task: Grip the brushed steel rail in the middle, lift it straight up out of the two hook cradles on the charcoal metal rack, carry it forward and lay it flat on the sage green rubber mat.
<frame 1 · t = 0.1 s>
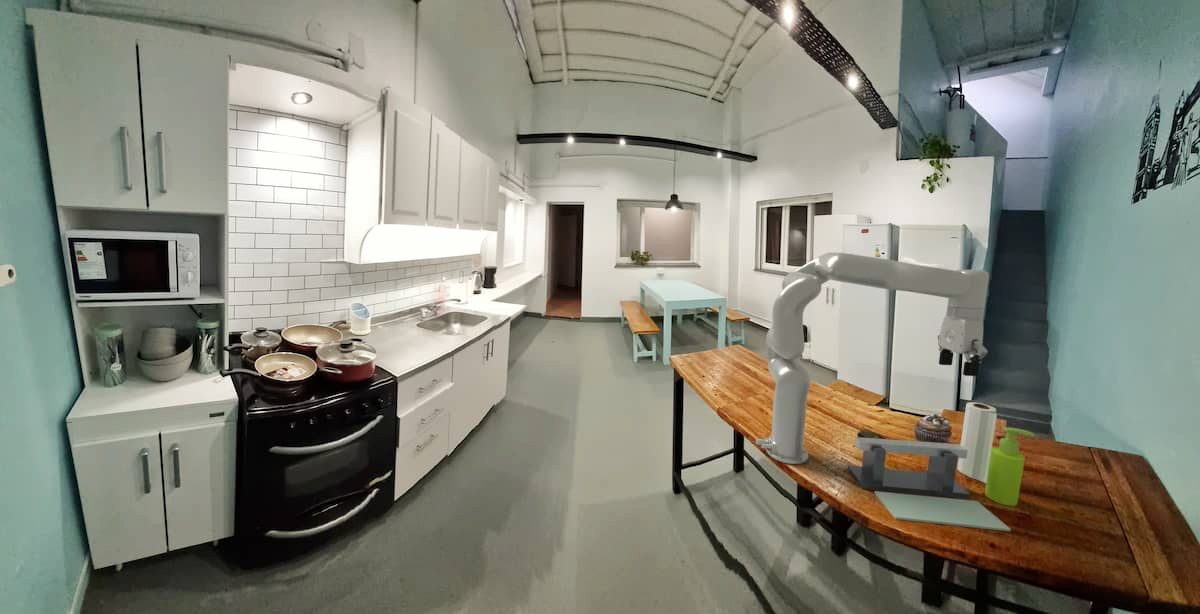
hand: (957, 369, 107), 31 cm above the table, fingers open, 9 cm apart
rack: (904, 483, 105), on the table
paper towel roll: (971, 474, 108), on the table
mat: (937, 510, 94), on the table
soap dispenser: (1003, 499, 98), on the table
cupcake: (930, 443, 126), on the table
tape measure: (869, 443, 127), on the table
rail: (908, 451, 103), point 10 cm above the table, touching rack
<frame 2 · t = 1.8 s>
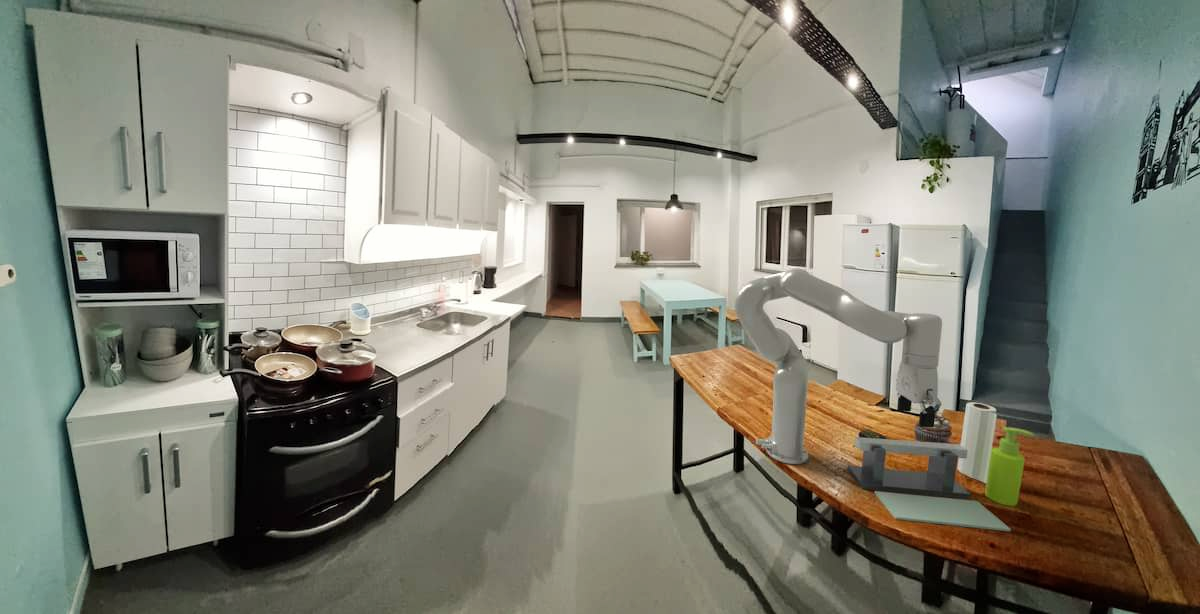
hand: (914, 418, 102), 20 cm above the table, fingers open, 9 cm apart
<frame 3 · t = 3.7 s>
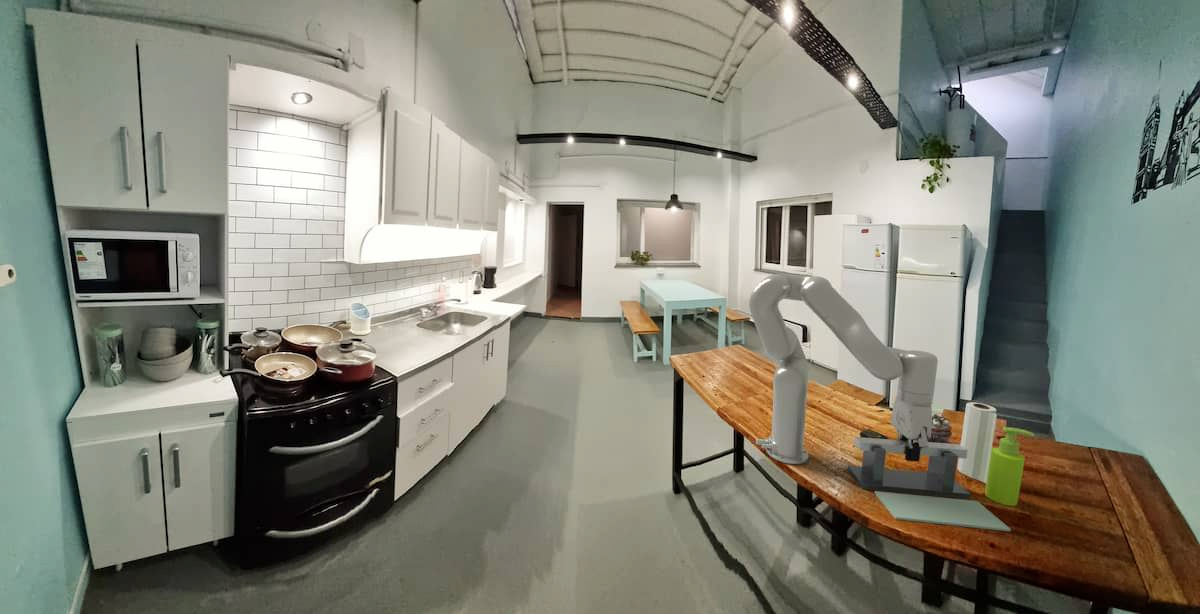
hand: (907, 456, 104), 9 cm above the table, fingers closed on rail, 3 cm apart
rail: (908, 451, 103), point 10 cm above the table, touching gripper, rack
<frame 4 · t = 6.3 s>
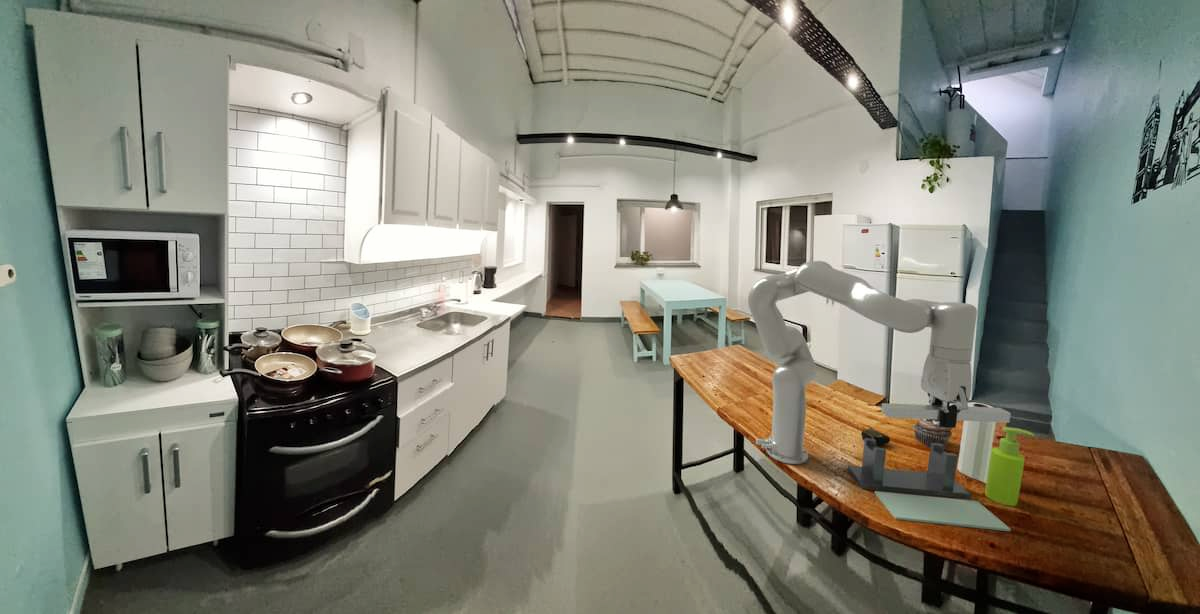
hand: (941, 422, 92), 23 cm above the table, fingers closed on rail, 3 cm apart
rail: (942, 417, 92), point 25 cm above the table, touching gripper
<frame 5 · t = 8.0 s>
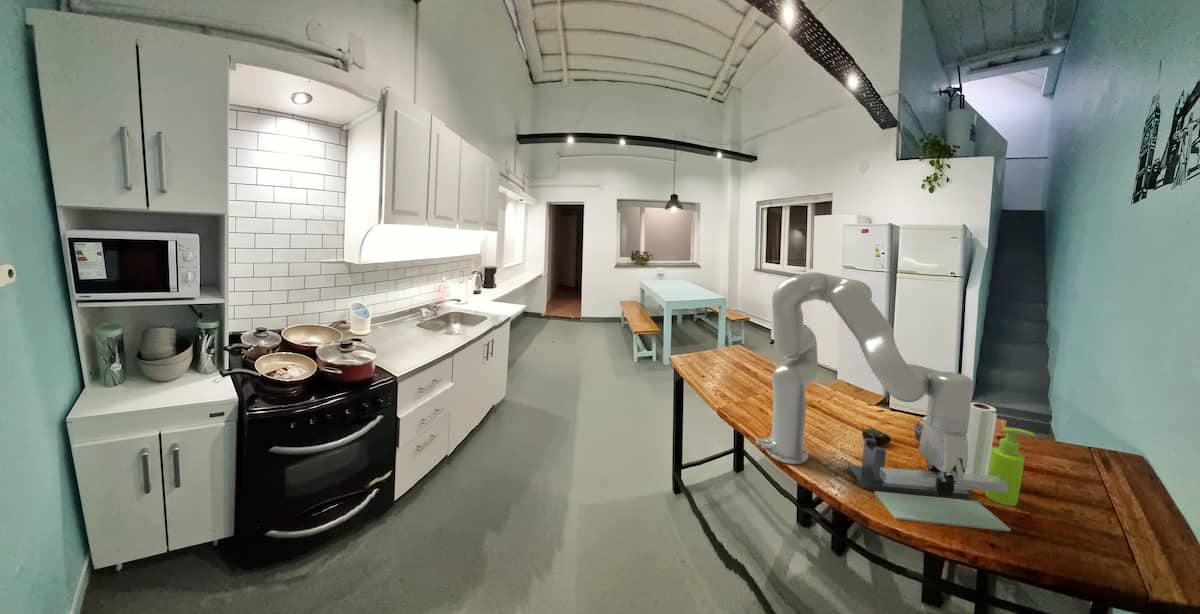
hand: (939, 489, 93), 6 cm above the table, fingers closed on rail, 3 cm apart
rail: (940, 484, 93), point 8 cm above the table, touching gripper
when the fingers open (1 cm above the table, at t = 9.2 s): rail drops 2 cm, resting on mat.
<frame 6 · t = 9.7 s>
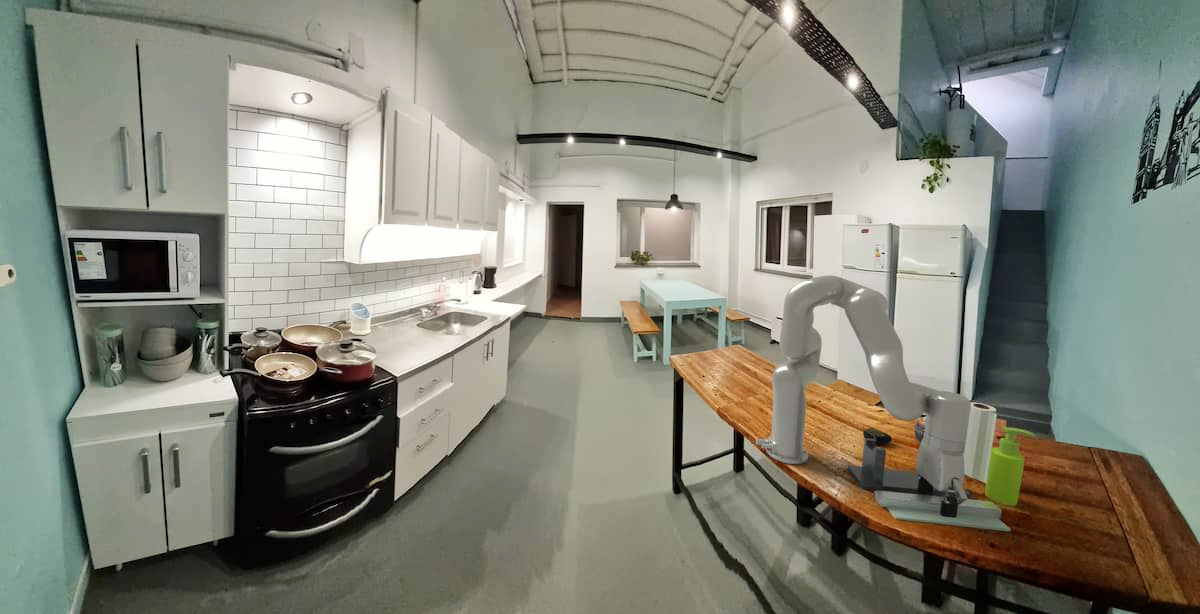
hand: (935, 504, 94), 2 cm above the table, fingers open, 8 cm apart
rail: (934, 508, 94), point 1 cm above the table, touching mat
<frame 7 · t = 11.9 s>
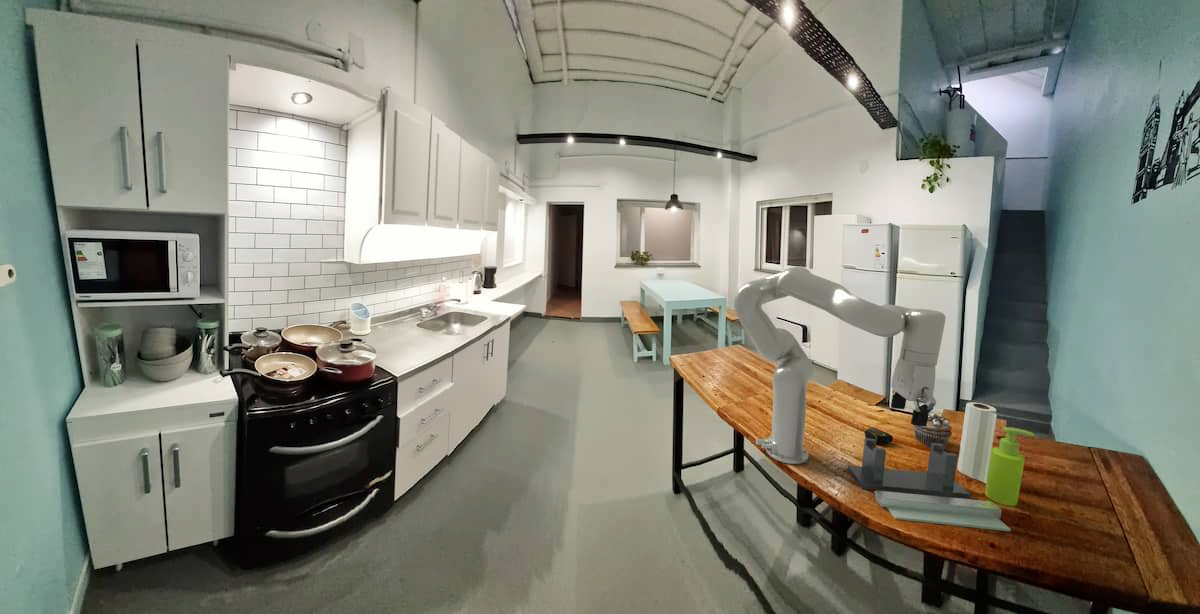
hand: (907, 416, 99), 22 cm above the table, fingers open, 9 cm apart
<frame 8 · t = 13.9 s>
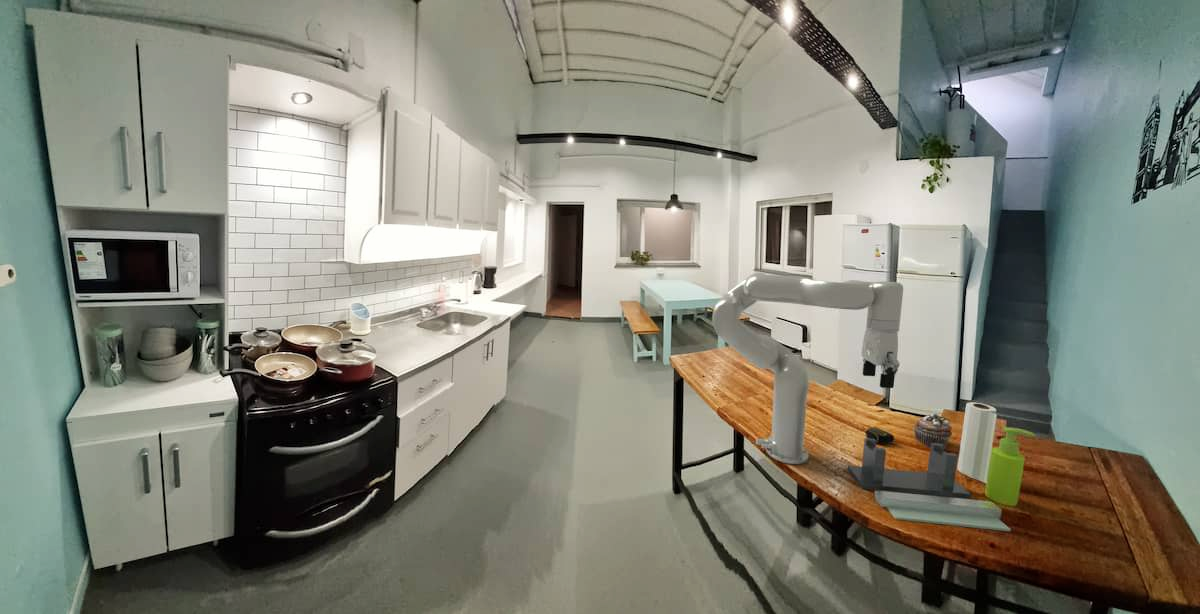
hand: (877, 381, 108), 28 cm above the table, fingers open, 9 cm apart
at the end: rail inside the target area (0.1 cm from its centre), point 0.6 cm above the table; the gripper is holding nothing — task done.
